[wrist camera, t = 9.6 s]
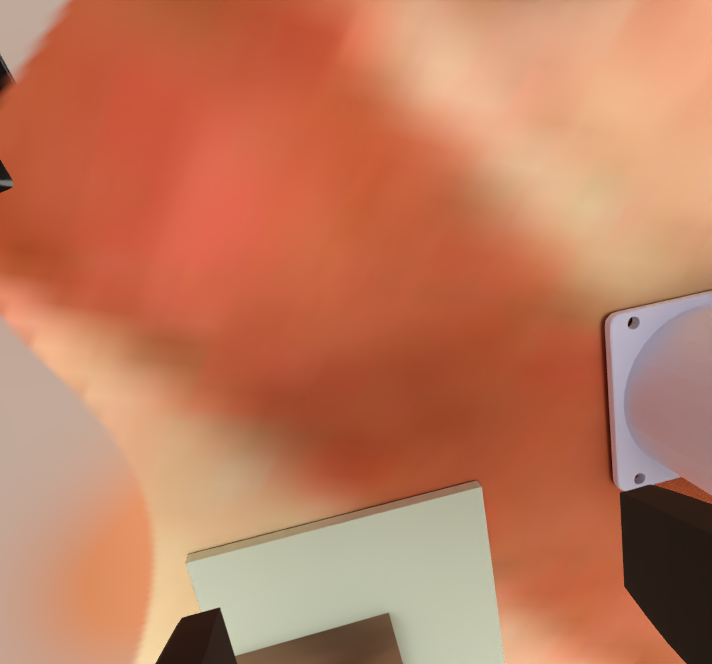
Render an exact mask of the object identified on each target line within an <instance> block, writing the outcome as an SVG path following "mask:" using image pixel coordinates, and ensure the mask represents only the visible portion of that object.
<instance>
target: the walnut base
mask: <svg viewBox="0 0 712 664" xmlns="http://www.w3.org/2000/svg"><path fill="white" fill-rule="evenodd" d="M235 658H236V661H237V664H403V662H402V658H401V655H400V651H399V648H398V644H397V641H396V637H395V634H394V630H393V626H392V623H391V619H390V616H389V613H385V614H382V615H378V616H375V617H371V618H368V619H364V620H361V621H357V622H354V623H350V624H346V625H343V626H339V627H336V628H332V629H329V630H325V631H322V632H318V633H315V634H311V635H308V636H304V637H300V638H297V639H293V640H290V641H286V642H283V643H279V644H276V645H272V646H269V647H265V648H262V649H258V650H255V651H251V652H247V653H244V654H240V655H237V656H235Z"/></svg>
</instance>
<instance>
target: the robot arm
mask: <svg viewBox="0 0 712 664" xmlns="http://www.w3.org/2000/svg"><path fill="white" fill-rule="evenodd" d="M631 317H632V319H633V321H632V324H631V325H630V326H629V327H628V321H629V319H630V318H631ZM605 340H606V358H607V376H608V395H609V413H610V431H611V449H612V468H613V481H614V484H615V485H616V486H617V487H618V488H619V489H621V490H622V491H625V492H621V493H620V505H621V526H622V546H623V567H624V587H625V588H626V589H627V591H628V592H629V593H630V595H631V596H632V597H633V599H634V600H635V601H636V603H637V604H638V605H639V607H640V608H641V609H642V611H643V612H644V613H645V615H646V616H647V617H648V619H649V620H650V621H651V622H652V624H653V625H654V626H655V628H656V629H657V630H658V631H659V633H660V634H661V635H662V636H663V638H664V639H665V640H666V641H667V643H668V644H669V645H670V646H671V647H672V648H673V649H674V650H675V652H676V653H677V654H678V655H679V656H680V657H681V658H682V659H683V660H684V661H685V662H686V663H687V664H712V504H709V503H706V502H703V501H701V500H698V499H695V498H692V497H689V496H686V495H683V494H680V493H677V492H674V491H671V490H668V489H664V488H661V487H658V486H654V484H657V483H661V482H665V481H668V480H672V479H676V478H679V477H682V478H684V479H686V480H687V481H689V482H690V483H692V484H694V485H695V486H697V487H699V488H700V489H702V490H703V491H705V492H707V493H708V494H710V495H711V496H712V290H711V291H707V292H702V293H698V294H693V295H689V296H684V297H680V298H675V299H671V300H667V301H662V302H658V303H653V304H649V305H644V306H640V307H635V308H631V309H626V310H622V311H617V312H614V313H612V314H611V315H609V316H608V318H607V320H606V321H605ZM637 474H638V476H637V478H635V476H636V475H637ZM156 664H237V661H236V658H235V655H234V651H233V648H232V645H231V642H230V638H229V635H228V632H227V628H226V625H225V622H224V619H223V615H222V612H221V609H220V607H219V608H215V609H212V610H208V611H205V612H201V613H198V614H194V615H191V616H187V617H184V618H182V619H181V620H180V622H179V623H178V625H177V626H176V628H175V630H174V631H173V633H172V635H171V637H170V638H169V640H168V642H167V644H166V646H165V647H164V649H163V651H162V653H161V655H160V656H159V658H158V660H157V662H156Z"/></svg>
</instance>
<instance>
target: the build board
mask: <svg viewBox="0 0 712 664" xmlns="http://www.w3.org/2000/svg"><path fill="white" fill-rule="evenodd" d="M186 566H187V570H188V573H189V576H190V579H191V582H192V585H193V589H194V592H195V595H196V598H197V601H198V604H199V608H200V611H201V612H205V611H208V610H212V609H215V608H219V607H220V609H221V612H222V615H223V619H224V622H225V625H226V628H227V632H228V635H229V638H230V642H231V645H232V648H233V651H234V655H235V656H237V655H240V654H244V653H247V652H251V651H255V650H258V649H262V648H265V647H269V646H272V645H276V644H279V643H283V642H286V641H290V640H293V639H297V638H300V637H304V636H308V635H311V634H315V633H318V632H322V631H325V630H329V629H332V628H336V627H339V626H343V625H346V624H350V623H354V622H357V621H361V620H364V619H368V618H371V617H375V616H378V615H382V614H385V613H389V616H390V619H391V623H392V626H393V630H394V634H395V637H396V641H397V644H398V648H399V651H400V655H401V658H402V662H403V664H505V661H504V653H503V645H502V638H501V630H500V622H499V615H498V607H497V599H496V592H495V584H494V576H493V569H492V561H491V554H490V546H489V538H488V531H487V523H486V515H485V508H484V500H483V492H482V486H481V485H480V484H479V482H478V481H477V480H476V481H473V482H469V483H465V484H461V485H457V486H453V487H449V488H445V489H441V490H438V491H434V492H430V493H426V494H422V495H418V496H414V497H410V498H406V499H402V500H399V501H395V502H391V503H387V504H383V505H379V506H375V507H371V508H367V509H364V510H360V511H356V512H352V513H348V514H344V515H340V516H336V517H332V518H329V519H325V520H321V521H317V522H313V523H309V524H305V525H301V526H297V527H294V528H290V529H286V530H282V531H278V532H274V533H270V534H266V535H262V536H259V537H255V538H251V539H247V540H243V541H239V542H235V543H231V544H227V545H223V546H220V547H216V548H212V549H208V550H204V551H200V552H196V553H192V554H188V556H187V560H186Z"/></svg>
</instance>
